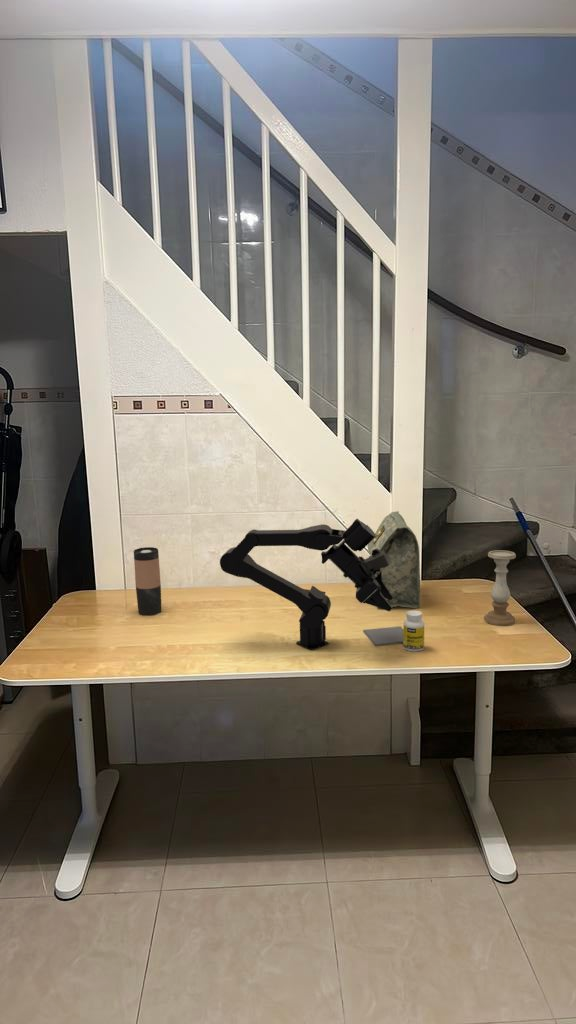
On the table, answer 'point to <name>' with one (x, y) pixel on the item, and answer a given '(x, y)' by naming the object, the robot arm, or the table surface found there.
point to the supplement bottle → (413, 631)
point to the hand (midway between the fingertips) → (391, 604)
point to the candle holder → (500, 590)
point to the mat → (385, 635)
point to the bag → (399, 560)
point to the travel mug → (147, 580)
